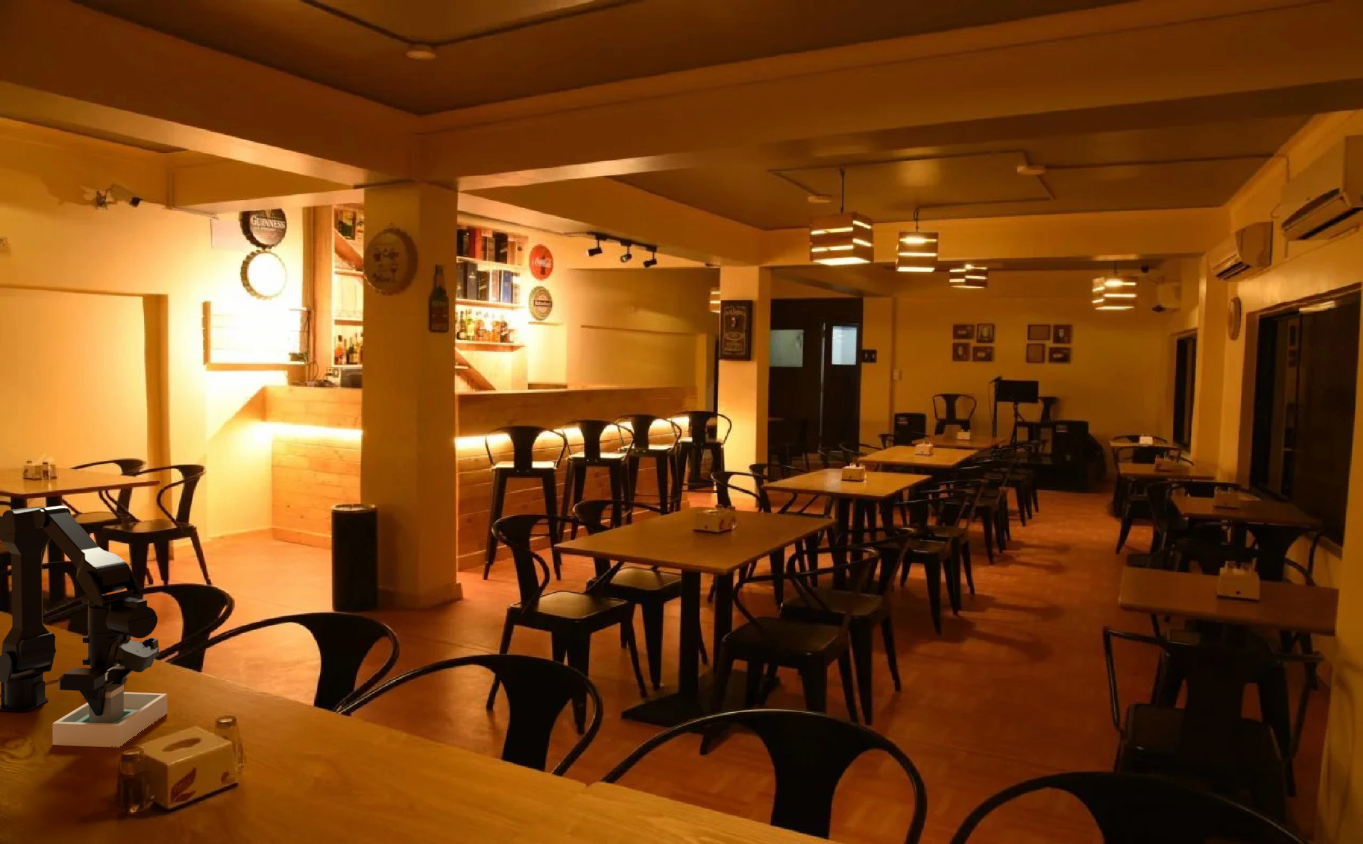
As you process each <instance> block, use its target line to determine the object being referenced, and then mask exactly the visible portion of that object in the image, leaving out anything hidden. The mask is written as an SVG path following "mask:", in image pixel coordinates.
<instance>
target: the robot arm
mask: <svg viewBox="0 0 1363 844" xmlns="http://www.w3.org/2000/svg"><path fill="white" fill-rule="evenodd" d="M50 540H52V541H53V543H54V544H55V545H56V546H57V547H58V548H59V549H60V550H61V551H62V552H63V554H64V555H66V557H67V558H68V559H69V561H70V562H71V563H72V564H73V565H74V567H75V569H76V581H77V582H78V584H79V585H80V587H81V589H82V590H83V592H84V593H85V594H86V595H85V596H83V598H82V599H81V600H80V601H81V604H85V605H87V606H88V607H87V635H85V636H83V637H82V644H87V657H85V658H83V659H82V666H89V667H74V668H72V669H71V670H69V671H66V672H65V673H63V674H62V675H61V676H59V678H58V689H59V690H60V691H77V692H79V693H80V694H81V695H82V696H83V698H84V699H85V701H86V703H88V704H89V706H90V707H91V709H92V711H93V712H94V714H95V715H96V716H101V715H102V714H103V710H104V702H105V694H106V688H107V687H108V686H109V685H110V684H124V685H125V682H126V679H127V678H128V676H129V675H130V674H131V673H132V672H134V673H143V672H144V671H145V670H146V669H148V668H151V667H152V666H153V663H154V661H155V660H156V659H155V658H156V657H158V656H159V655H160V654H161V652H160V651H159V650H160V646H159V639H158V638H156V637H153V636H150V635H151V634H152V633H153V632H154V630H155V628H156V627H157V624H158V619H159V618H158V615H157V612H156V611H155V609H153V608H152V607H150V606H148V600H147V599H144V598H142V597H143V593H142V590H141V585H140V583H139V582H138V580H137V579H136V577H135V575H134V573H133V570H132V569H131V567H130V565H129V564H128V563H127V562H126V561H125V560H124V558H121V557H120V556H119V555H118V554H117V553H113V552H110V551H107V550H104V549H103V548H101V547H100V546H99V545H98V543H96V542H95V540H94V539H93V538H92V537H91V536H90V535H89V533H87V531H85V529H84V528H83V527H82V526H81V525H80V524H79V523H78V522H77V521H76V519H75V518H74V517H73V516H72V513H71V510H70V508H69V507H68V506H64V505H51V506H42V505H41V506H32V507H31V506H29V507H24V508H16V509H14V508H13V509H7V510H5V511H4V512H3V513H2V515H0V543H1V544H2V545H3V546H4V547H5V548H6V550H7V551H8V552H9V553H10V573H11V574H10V576H11V577H10V578H11V579H10V580H11V611H12V612H11V620H12V621H11V625H12V626H11V628H10V630H9V631H8V633H7V634H6V636H5V637H4V639H3V641H2V645H1V654H0V712H19V713H20V712H21V713H23V712H24V713H28V712H29V711H32V710H34V709H35V708H38V707H40V706H41V705H43V704H44V703H46V702H47V701H49V697H46V681H45V680H44V673H49V672H51V671H52V668H53V665H54V660H55V656H56V654H57V650H56V635H55V633H54V632H50V631H49V630H48V628H46V625H44V618H43V617H44V612H43V608H44V607H43V601H44V600H43V560H42V559H43V556H42V555H43V552H44V549H45V548H46V546H47V545H48V543H49V542H50ZM125 589H126V590H125ZM140 598H141V599H140ZM148 636H150V637H148ZM147 637H148V638H147ZM132 638H135V639H144V638H146V639H145V640H144V641H142V640H138V641H135V640H132ZM126 677H127V678H126Z"/></svg>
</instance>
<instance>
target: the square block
mask: <svg viewBox="0 0 1363 844" xmlns="http://www.w3.org/2000/svg"><path fill="white" fill-rule="evenodd" d="M124 690H125V683H124V684H110V685H109V686H108V687H107V688H106V694H105V702H104V710H103V714H102V715H101V716H96V715H95V714H94V712H93V711H92V709H91V707H90V706H89V723H109V724H111V723H113V722H114V721H116V720H117V719H119V718H120V717H122V716H123V715H124V692H125V691H124Z"/></svg>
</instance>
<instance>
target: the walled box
mask: <svg viewBox="0 0 1363 844" xmlns="http://www.w3.org/2000/svg"><path fill="white" fill-rule="evenodd" d="M165 714H166V715H168V693H159V692H158V693H156V692H155V693H154V692H133V691H131V692H130V691H124V715H123V716H122V717H120V718H119V719H117V720H116V721H114V722H113V723H111V724H109V723H89V704H88V703H87V702H86V703H84V704H82V705H81V706H79V707H77V708H76V709H74V710H73V711H70V712H69V713H68V714H65V715H64V716H62V717H61V718H59V719H57V720H56V721H54V722H52V745H53V746H68V747H69V746H70V747H71V746H72V747H73V746H74V747H98V748H99V747H101V748H121V747H123V746H124V745H125V744H127V743H128V742H129V741H130V740H129V739H131V738H132V737H133V736H135V737H137V736H138V735H139V734H140V733H139V732H141V731H142V730H143V731H145V730H146V729H147V727H148V726H149V725H150V726H152V725H153V724H155V723H156V722H158V721H159V720H160V719H162V718H163V717H164V716H166V715H165ZM161 717H162V718H161ZM159 718H160V719H159ZM158 719H159V720H158ZM155 721H156V722H155ZM154 722H155V723H154ZM151 724H152V725H151ZM150 726H149V727H150ZM149 727H148V728H149ZM145 728H146V729H145ZM144 729H145V730H144ZM143 731H142V732H143ZM142 732H141V733H142ZM138 733H139V734H138ZM137 734H138V735H137ZM132 739H133V738H132ZM132 739H131V740H132ZM128 740H129V741H128ZM127 741H128V742H127ZM126 742H127V743H126ZM124 743H125V744H124ZM123 744H124V745H123ZM111 746H113V747H111ZM115 746H116V747H115ZM120 746H121V747H120Z"/></svg>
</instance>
